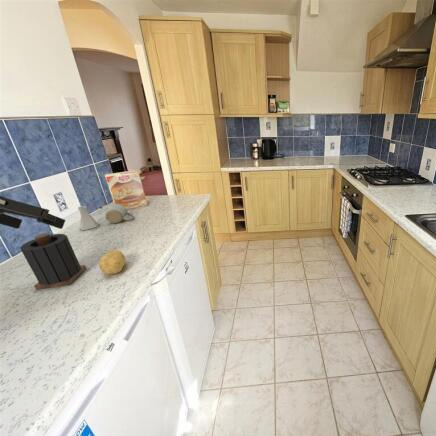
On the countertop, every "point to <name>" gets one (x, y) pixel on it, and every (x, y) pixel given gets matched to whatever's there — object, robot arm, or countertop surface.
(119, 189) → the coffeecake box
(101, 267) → the potato
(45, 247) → the tape roll
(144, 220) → the countertop surface
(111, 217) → the ceramic mug
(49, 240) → the peg
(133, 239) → the countertop surface
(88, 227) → the flask
